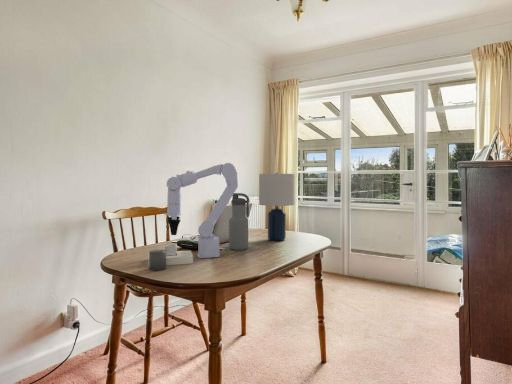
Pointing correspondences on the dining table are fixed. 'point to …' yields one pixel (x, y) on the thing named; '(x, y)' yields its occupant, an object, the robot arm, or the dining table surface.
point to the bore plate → (179, 258)
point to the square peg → (170, 250)
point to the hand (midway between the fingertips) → (173, 233)
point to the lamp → (276, 201)
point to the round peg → (157, 260)
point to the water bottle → (239, 223)
